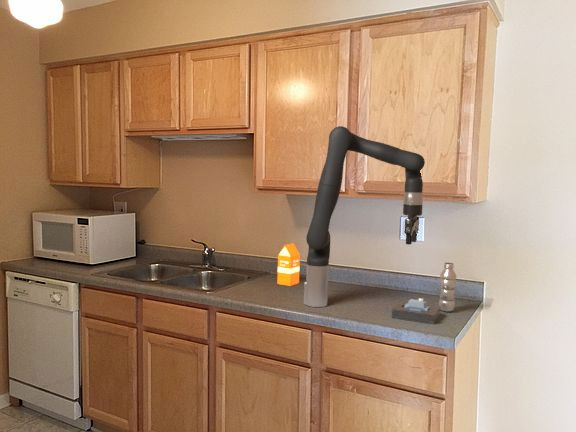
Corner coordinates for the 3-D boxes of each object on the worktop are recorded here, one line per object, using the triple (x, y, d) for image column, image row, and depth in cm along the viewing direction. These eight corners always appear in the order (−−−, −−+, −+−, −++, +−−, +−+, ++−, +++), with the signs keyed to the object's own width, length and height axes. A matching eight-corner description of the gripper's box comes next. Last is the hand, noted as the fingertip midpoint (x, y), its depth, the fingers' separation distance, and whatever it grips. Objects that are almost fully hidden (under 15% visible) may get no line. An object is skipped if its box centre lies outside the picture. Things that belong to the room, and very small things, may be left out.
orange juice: (299, 282, 250) (300, 243, 248) (290, 285, 242) (291, 245, 241) (286, 280, 254) (287, 242, 252) (276, 283, 246) (277, 244, 245)
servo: (403, 315, 194) (404, 297, 194) (406, 313, 198) (407, 295, 197) (426, 319, 190) (427, 300, 190) (429, 316, 194) (430, 298, 193)
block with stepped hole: (391, 317, 191) (392, 309, 191) (400, 309, 204) (401, 301, 203) (433, 324, 184) (434, 315, 184) (440, 315, 196) (440, 306, 196)
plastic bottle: (454, 309, 206) (456, 262, 204) (455, 313, 199) (457, 265, 197) (438, 308, 207) (440, 261, 206) (438, 312, 201) (441, 264, 199)
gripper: (407, 202, 207) (406, 240, 208) (399, 203, 194) (397, 244, 195) (426, 203, 203) (424, 242, 205) (418, 204, 191) (416, 246, 192)
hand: (411, 243), depth 200 cm, fingers open, 8 cm apart
